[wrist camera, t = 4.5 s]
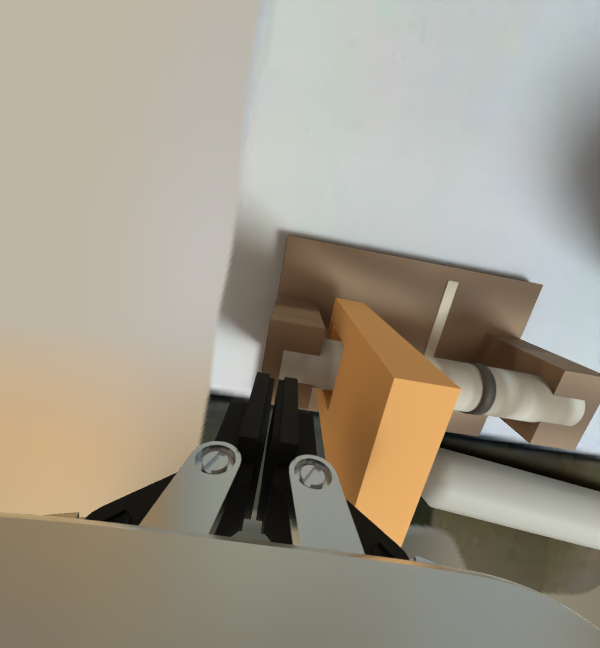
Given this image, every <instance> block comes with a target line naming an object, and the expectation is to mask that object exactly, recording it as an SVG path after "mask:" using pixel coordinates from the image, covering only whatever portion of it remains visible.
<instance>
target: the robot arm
mask: <svg viewBox="0 0 600 648" xmlns="http://www.w3.org/2000/svg"><path fill="white" fill-rule="evenodd" d="M274 382H275V378H270V374H266V373H260V372H257V375H256V379H255V382H254V386H253V389H252V392H251V396H250V399H249V403H246V402H240V401H234V400H232V401H231V402H230V405H229V407H228V410H227V412H226V415H225V417H224V420H223V422H222V425H221V427H220V429H219V432H218V434H217V437H216V439H215V441H212V442H208V443H204V444H202V445H200V446H198V447H197V448H196V449H195V450H194V451H193V452H192V453H191V454H190V456H189V457H188V458H187V460H186V461H185V462H184V464H183V465H182V467H181V468H180V469H179V471H178V472H177V473H175V474H173V475H170V476H168V477H166V478H164V479H162V480H160V481H157V482H155V483H153V484H151V485H148V486H146V487H144V488H142V489H140V490H137V491H135V492H133V493H131V494H129V495H126V496H124V497H122V498H120V499H118V500H115V501H113V502H111V503H109V504H107V505H104V506H102V507H101V508H99V509H97V510H95V511H94V512H92V513H91V514H89V515H88V516H87V517H81V518H79V512H77V513H64V514H51V515H32V514H18V513H0V648H600V630H599V629H598V628H597V627H596V626H595V625H593V624H592V623H591V622H589V621H588V620H586V619H585V618H583V617H582V616H580V615H579V614H577V613H576V612H574V611H573V610H571V609H569V608H568V607H566V606H564V605H563V604H561V603H559V602H557V601H555V600H553V599H551V598H549V597H547V596H545V595H543V594H541V593H539V592H537V591H535V590H533V589H531V588H528V587H525V586H523V585H520V584H517V583H515V582H512V581H510V580H506V579H503V578H499V577H495V576H492V575H488V574H485V573H480V572H475V571H469V570H464V569H458V568H454V567H448V566H442V565H440V564H437V563H434V562H431V561H428V560H426V559H423V558H420V557H418V556H415V558H414V560H412V559H409V558H408V556H407V554H406V553H405V552H404V551H403V550H402V549H401V547H400V546H399V545H398V544H396V543H395V542H394V541H393V540H392V539H391V538H390V537H389V536H387V535H386V534H385V533H384V532H383V531H382V530H381V529H380V528H378V527H377V526H376V525H375V524H374V523H373V522H372V521H371V520H369V519H368V518H367V517H366V516H365V515H364V514H363V513H361V512H360V511H359V510H358V509H357V508H356V507H355V506H354V505H352V504H351V503H350V502H349V501H348V500H347V499H346V498H345V496H344V493H343V490H342V488H341V485H340V482H339V479H338V476H337V473H336V472H335V470H334V468H333V467H332V466H331V465H330V463H329V462H327V461H326V460H324V459H323V458H320V457H318V456H317V452H316V442H315V432H314V422H313V414H312V413H308V412H302V411H298V379H296V378H290V377H284V380H281V379H279V382H278V387H277V392H276V397H275V403H274V408H273V413H272V418H271V424H270V429H269V434H268V440H267V447H266V454H265V461H264V468H263V475H262V482H261V489H260V496H259V503H258V510H257V517H256V520H258V521H262V529H261V534H265V535H266V536H267V537H268V539H270V541H271V542H267V541H266V542H265V541H259V540H251V539H242V538H235V537H231V536H233V535H234V534H235V533H237V532H238V531H242V526H243V521H244V519H251V515H252V510H253V505H254V499H255V494H256V489H257V484H258V478H259V473H260V468H261V462H262V457H263V452H264V446H265V441H266V435H267V428H268V421H269V415H270V408H271V401H272V395H273V388H274Z"/></svg>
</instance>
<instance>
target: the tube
mask: <svg viewBox="0 0 600 648" xmlns="http://www.w3.org/2000/svg"><path fill="white" fill-rule="evenodd" d="M421 496H422V497H423V498H424V500H425V501H426V502H427V503H428V504H429V506H430V507H433V508H437V509H441V510H445V511H449V512H453V513H457V514H461V515H465V516H469V517H473V518H476V519H480V520H484V521H488V522H492V523H496V524H500V525H504V526H508V527H512V528H516V529H520V530H523V531H527V532H531V533H535V534H539V535H543V536H547V537H551V538H555V539H559V540H563V541H567V542H570V543H574V544H578V545H582V546H586V547H590V548H594V549H598V550H600V492H599V491H595V490H592V489H588V488H585V487H581V486H577V485H574V484H570V483H567V482H563V481H559V480H556V479H552V478H548V477H545V476H541V475H538V474H534V473H530V472H527V471H523V470H520V469H516V468H512V467H509V466H505V465H501V464H498V463H494V462H491V461H487V460H483V459H480V458H476V457H473V456H469V455H465V454H462V453H458V452H455V451H451V450H447V449H444V448H439V449H438V452H437V454H436V457H435V460H434V462H433V465H432V467H431V470H430V473H429V475H428V478H427V481H426V483H425V486H424V488H423V491H422V494H421Z"/></svg>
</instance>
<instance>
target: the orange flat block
mask: <svg viewBox="0 0 600 648" xmlns="http://www.w3.org/2000/svg"><path fill="white" fill-rule="evenodd" d="M326 339H330V340H336V341H342V343H343V345H344V348H343V352H342V356H341V360H340V364H339V368H338V372H337V376H336V381H335V385H334V389H333V391H331V390H325V389H319V388H316V394H317V401H318V408H319V416H320V423H321V430H322V437H323V444H324V451H325V458H326V461H327V462H329V463H330V465H331V466H332V467H333V468H334V470H335V472H336V473H337V476H338V479H339V482H340V485H341V488H342V490H343V493H344V496H345V498H346V499H347V500H348V501H349V502H350V503H351V504H352V505H354V506H355V507H356V508H357V509H358V510H359V511H360V512H361V513H363V514H364V515H365V516H366V517H367V518H368V519H369V520H371V521H372V522H373V523H374V524H375V525H376V526H377V527H378V528H380V529H381V530H382V531H383V532H384V533H385V534H386V535H387V536H389V537H390V538H391V539H392V540H393V541H394V542H395V543H396V544H398V545H399V546H400V547H401V546H402V543H403V541H404V538H405V535H406V533H407V530H408V528H409V525H410V522H411V520H412V517H413V515H414V512H415V509H416V507H417V504H418V501H419V499H420V496H421V494H422V491H423V488H424V486H425V483H426V481H427V478H428V475H429V473H430V470H431V467H432V465H433V462H434V460H435V457H436V454H437V452H438V449H439V447H440V444H441V441H442V439H443V436H444V434H445V431H446V428H447V426H448V423H449V420H450V418H451V415H452V413H453V410H454V407H455V405H456V402H457V400H458V397H459V394H460V392H461V388H460V387H459V386H458V385H456V384H455V383H454V382H453V381H452V380H451V379H450V378H448V377H447V376H446V375H445V374H444V373H443V372H442V371H440V370H439V369H438V368H437V367H436V366H435V365H434V364H433V363H431V362H430V361H429V360H428V359H427V358H426V357H425V356H423V355H422V354H421V353H420V352H419V351H418V350H417V349H415V348H414V347H413V346H412V345H411V344H410V343H409V342H408V341H406V340H405V339H404V338H403V337H402V336H401V335H400V334H398V333H397V332H396V331H395V330H394V329H393V328H392V327H391V326H389V325H388V324H387V323H386V322H385V321H384V320H383V319H381V318H380V317H379V316H378V315H377V314H376V313H375V312H373V311H372V310H371V309H370V308H369V307H368V306H367V305H366V304H364V303H362V302H356V301H351V300H345V299H340V298H335V303H334V307H333V312H332V316H331V320H330V325H329V329H328V334H327V338H326Z"/></svg>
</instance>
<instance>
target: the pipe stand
mask: <svg viewBox="0 0 600 648" xmlns="http://www.w3.org/2000/svg"><path fill="white" fill-rule="evenodd" d="M542 286H543V285H541V284H536V283H531V282H526V281H520V280H515V279H510V278H505V277H500V276H495V275H490V274H485V273H479V272H474V271H469V270H464V269H459V268H454V267H449V266H444V265H438V264H433V263H428V262H423V261H418V260H413V259H408V258H402V257H397V256H392V255H387V254H382V253H377V252H372V251H367V250H361V249H356V248H351V247H346V246H341V245H336V244H331V243H325V242H320V241H315V240H310V239H305V238H300V237H295V236H290V235H288V238H287V244H286V250H285V256H284V262H283V268H282V274H281V280H280V286H279V292H278V297H277V300H276V303H275V306H274V309H273V312H272V315H271V318H270V324H269V330H268V336H267V342H266V348H265V354H264V361H263V367H262V373H266V374H270V378H275V382H274V388H273V395H272V401H271V405H274V403H275V397H276V392H277V387H278V382H279V379H281V380H284V377H290V378H296V379H298V409H303V410H310V411H316V412H319V408H318V401H317V394H316V388H319V389H325V390H331V391H333V389H334V385H335V381H336V376H337V372H338V368H339V364H340V360H341V356H342V352H343V348H344V345H343V343H342V341H336V340H330V339H326V338H327V334H328V329H329V325H330V320H331V316H332V312H333V307H334V303H335V298H340V299H345V300H351V301H356V302H362V303H364V304H366V305H367V306H368V307H369V308H370V309H371V310H372V311H373V312H375V313H376V314H377V315H378V316H379V317H380V318H381V319H383V320H384V321H385V322H386V323H387V324H388V325H389V326H391V327H392V328H393V329H394V330H395V331H396V332H397V333H398V334H400V335H401V336H402V337H403V338H404V339H405V340H406V341H408V342H409V343H410V344H411V345H412V346H413V347H414V348H415V349H417V350H418V351H419V352H420V353H421V354H422V355H423V356H425V357H426V358H427V359H428V360H429V361H430V362H431V363H433V364H434V365H435V366H436V367H437V368H438V369H439V370H440V371H442V372H443V373H444V374H445V375H446V376H447V377H448V378H450V379H451V380H452V381H453V382H454V383H455V384H456V385H458V386H459V387H460V388H461V392H460V394H459V397H458V400H457V402H456V405H455V407H454V410H453V413H452V415H451V418H450V420H449V423H448V426H447V428H446V432H453V433H459V434H466V435H472V436H479V435H480V433H481V430H482V428H483V426H484V423H485V421H486V419H487V416H494V417H500V418H501V419H502V420H503V421H504V422H505V423H507V424H508V425H509V426H510V427H511V428H512V429H514V430H515V431H516V432H517V433H518V434H519V435H521V436H522V437H523V438H524V439H525V440H526V441H528V442H529V443H530V444H537V445H543V446H550V447H556V448H563V449H569V450H575V448H576V447H577V445H578V443H579V441H580V439H581V437H582V435H583V434H584V432H585V430H586V428H587V426H588V424H589V423H590V421H591V419H592V417H593V415H594V413H595V411H596V410H597V408H598V406H599V404H600V373H598V372H596V371H593V370H591V369H589V368H586V367H584V366H582V365H579V364H577V363H575V362H572V361H570V360H568V359H565V358H563V357H561V356H558V355H556V354H554V353H551V352H549V351H547V350H544V349H542V348H540V347H537V346H535V345H533V344H530V343H528V342H526V341H523V340H521V339H520V338H521V336H522V333H523V331H524V329H525V326H526V324H527V322H528V319H529V317H530V315H531V312H532V310H533V307H534V305H535V303H536V300H537V298H538V296H539V293H540V291H541V289H542Z"/></svg>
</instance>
